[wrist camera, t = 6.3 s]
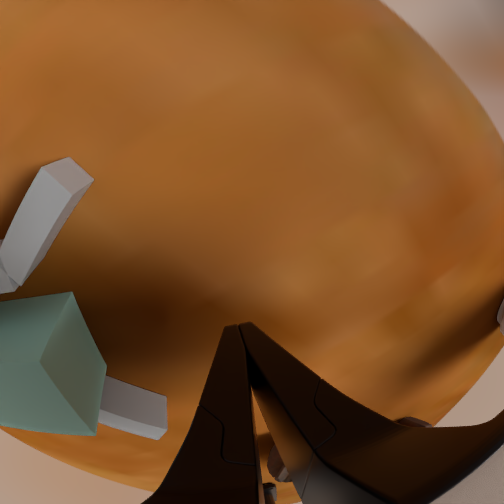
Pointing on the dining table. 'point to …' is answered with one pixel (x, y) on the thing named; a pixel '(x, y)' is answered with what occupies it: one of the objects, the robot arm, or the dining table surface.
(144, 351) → the dining table surface
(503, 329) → the energy drink can
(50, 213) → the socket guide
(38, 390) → the mint green brick
